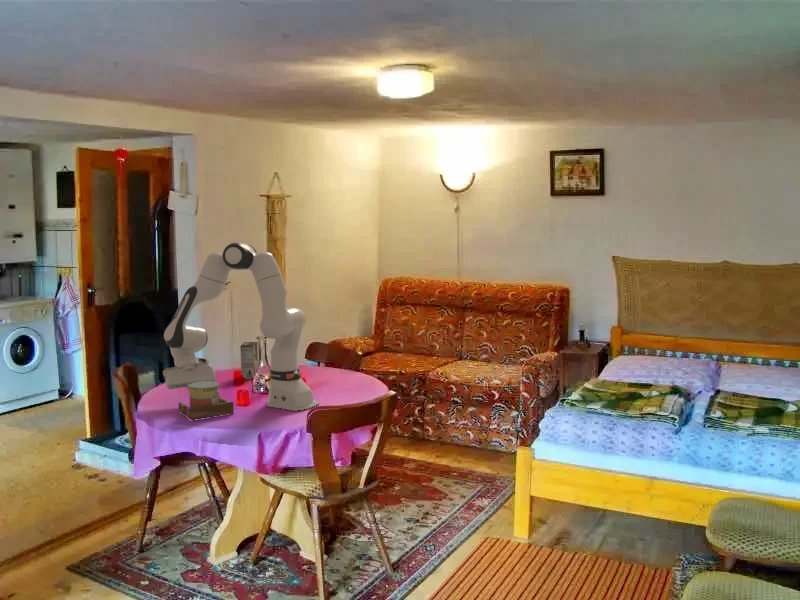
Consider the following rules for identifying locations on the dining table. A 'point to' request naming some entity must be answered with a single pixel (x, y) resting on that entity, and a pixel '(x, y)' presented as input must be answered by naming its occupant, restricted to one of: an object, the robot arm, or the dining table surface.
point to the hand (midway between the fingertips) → (195, 393)
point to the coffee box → (249, 359)
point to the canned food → (204, 393)
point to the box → (207, 410)
